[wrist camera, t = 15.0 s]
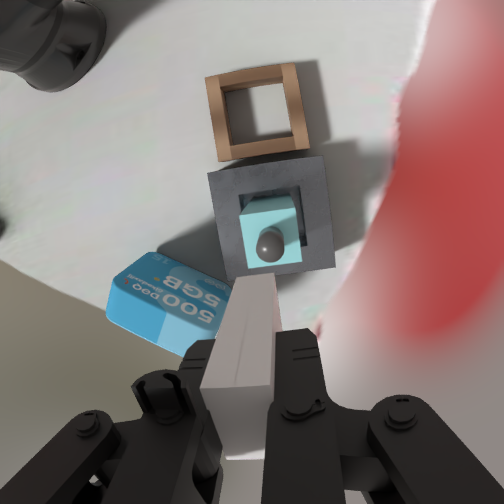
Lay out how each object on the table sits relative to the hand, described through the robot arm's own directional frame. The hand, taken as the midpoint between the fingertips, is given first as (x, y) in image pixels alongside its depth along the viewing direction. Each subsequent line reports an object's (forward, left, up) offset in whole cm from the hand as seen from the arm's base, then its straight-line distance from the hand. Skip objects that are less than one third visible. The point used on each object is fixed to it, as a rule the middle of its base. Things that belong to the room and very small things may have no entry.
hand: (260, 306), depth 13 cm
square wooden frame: (-12, 0, -26) cm, 28 cm away
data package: (+8, -13, -26) cm, 30 cm away
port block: (0, 0, -26) cm, 26 cm away
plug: (0, 0, -25) cm, 25 cm away
